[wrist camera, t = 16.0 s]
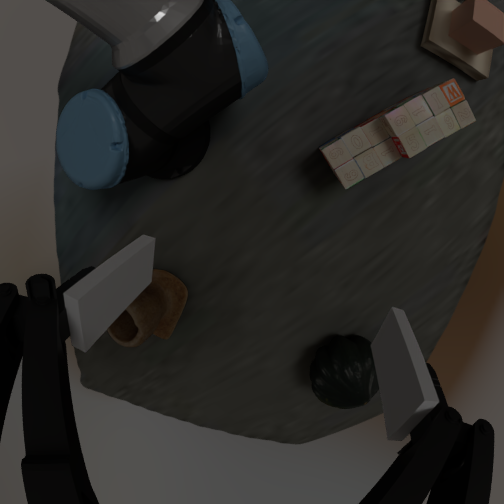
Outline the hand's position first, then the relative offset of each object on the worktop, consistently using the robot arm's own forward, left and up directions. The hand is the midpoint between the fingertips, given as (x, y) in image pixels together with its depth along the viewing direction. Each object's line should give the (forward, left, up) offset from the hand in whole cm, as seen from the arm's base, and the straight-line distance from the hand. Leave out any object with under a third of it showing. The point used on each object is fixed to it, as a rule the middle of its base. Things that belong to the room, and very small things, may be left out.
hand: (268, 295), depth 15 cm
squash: (+22, -27, -35) cm, 49 cm away
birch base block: (+18, +38, -35) cm, 54 cm away
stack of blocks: (+10, +14, -35) cm, 39 cm away
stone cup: (-18, -30, -35) cm, 50 cm away
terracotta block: (+18, +38, -31) cm, 52 cm away
